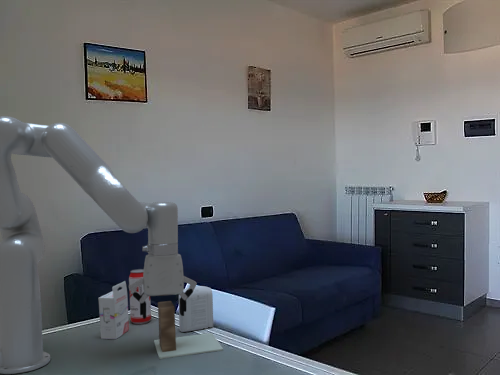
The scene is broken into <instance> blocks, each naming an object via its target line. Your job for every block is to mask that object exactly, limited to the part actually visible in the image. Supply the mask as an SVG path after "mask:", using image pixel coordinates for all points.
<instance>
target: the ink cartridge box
mask: <svg viewBox="0 0 500 375" xmlns="http://www.w3.org/2000/svg"><path fill="white" fill-rule="evenodd" d="M119 288H121V289H119ZM111 289H112V291H110V292H108V293H106V294H103V295H101V296H100V297H98V310H99V312H98V314H99V327H100V328H99V330H100V331H99V332H100V340H116V339H118V338H121V336H123V335H124V334H126V332H128V331H130V324H129V320H130V319H129V301H128V288H127V282H126V280H124V281H122V282H120V283H117V284H116V285H113V286H112V288H111Z"/></svg>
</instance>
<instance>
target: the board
mask: <svg viewBox="0 0 500 375" xmlns="http://www.w3.org/2000/svg"><path fill="white" fill-rule="evenodd" d="M153 343H154V346H155V350H156V353H157V356H158V359H159V360H162V359H163V360H164V359H168V358H170V359H171V358H176V357H183V356H191V355H192V356H193V355H199V354H205V353H206V354H207V353H213V352H220V351H224V347H222V345H221V344H220V342H219V341H218V339H217V338H216V337H215V335H214V334H213V333H212V332H209V333H200V334H193V335H192V334H191V335H184V336H176V350H175V351H168V352H162V350H161V347H160V343H159V339H153Z"/></svg>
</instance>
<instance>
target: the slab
mask: <svg viewBox="0 0 500 375" xmlns="http://www.w3.org/2000/svg"><path fill="white" fill-rule="evenodd" d="M175 310H176V309H175V306H174V304H173V302H172V300H167V301H158V302H157V313H158V336H159V337H158V340H159V343H160V347H161V350H162V352H168V351H175V350H176V337H177V336H176V334H177V333H176V318H175V317H176V315H175V313H176V312H175Z"/></svg>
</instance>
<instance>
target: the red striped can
mask: <svg viewBox="0 0 500 375" xmlns="http://www.w3.org/2000/svg"><path fill="white" fill-rule="evenodd" d="M143 273H144V268H138V269H131V270H130V274H129V276H128V286H129V285H131V284H132V283H134V282H136V281H138V280H139V279H141V278H143ZM128 289H129V288H128ZM136 291H137V293H139V294H140V295H141V294H142V293H143V292H144V290H143V284H142V285H140V286H138V287H137V288H136ZM145 302H146V318H145V319H143V315H140V302H139V301H138V300H137V299H136V298H135V297H134V296H133V295H132V293H131V291H130V289H129V311H130V321H131V323H133V324H134V325H146V324H148V323H149V322H150V321H151V320H152V308H151V307H152V305H151V296H148V298H147V299H146V300H145Z"/></svg>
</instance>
